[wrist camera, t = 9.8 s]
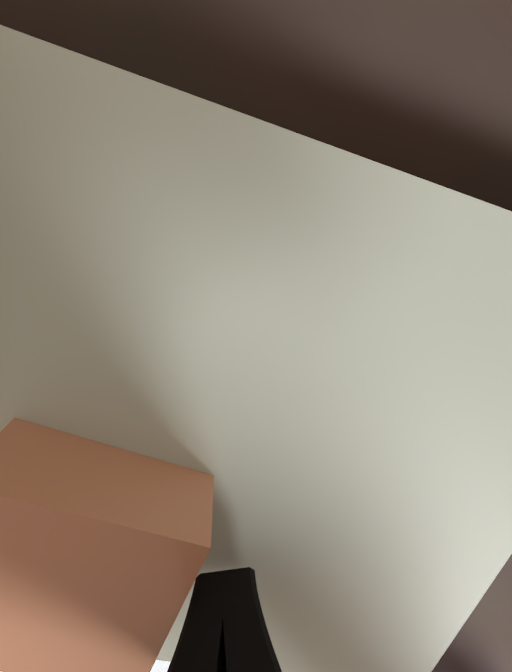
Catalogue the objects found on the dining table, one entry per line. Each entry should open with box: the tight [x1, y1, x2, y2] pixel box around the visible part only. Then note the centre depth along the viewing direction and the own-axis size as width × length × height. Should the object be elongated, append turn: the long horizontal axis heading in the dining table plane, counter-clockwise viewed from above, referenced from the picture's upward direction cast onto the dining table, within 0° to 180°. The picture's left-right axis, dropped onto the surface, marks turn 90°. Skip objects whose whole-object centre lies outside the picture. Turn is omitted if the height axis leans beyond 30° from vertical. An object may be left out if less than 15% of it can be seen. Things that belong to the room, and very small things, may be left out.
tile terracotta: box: [0, 418, 214, 672], centre depth 9 cm, size 4×4×2 cm
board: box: [0, 25, 512, 672], centre depth 10 cm, size 14×14×2 cm
